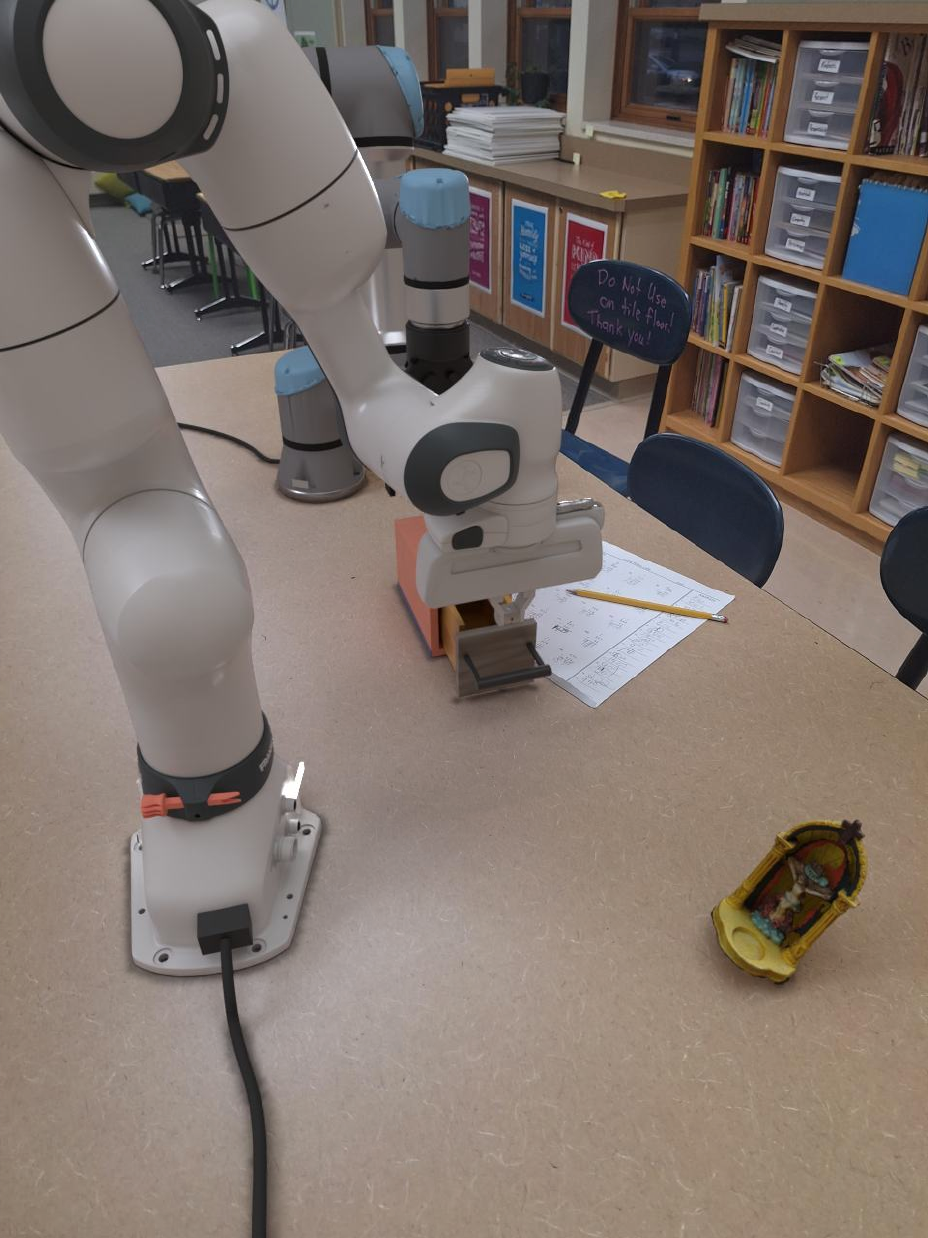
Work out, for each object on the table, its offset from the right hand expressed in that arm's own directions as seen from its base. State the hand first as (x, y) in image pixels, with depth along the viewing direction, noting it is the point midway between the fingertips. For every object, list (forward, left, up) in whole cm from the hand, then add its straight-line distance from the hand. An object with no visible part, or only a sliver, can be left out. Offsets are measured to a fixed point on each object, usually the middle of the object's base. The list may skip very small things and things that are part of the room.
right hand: (440, 484), depth 113 cm
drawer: (+17, -4, -17) cm, 24 cm away
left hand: (+25, -6, -4) cm, 26 cm away
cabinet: (+4, -1, -18) cm, 18 cm away
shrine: (+64, -3, -18) cm, 66 cm away
